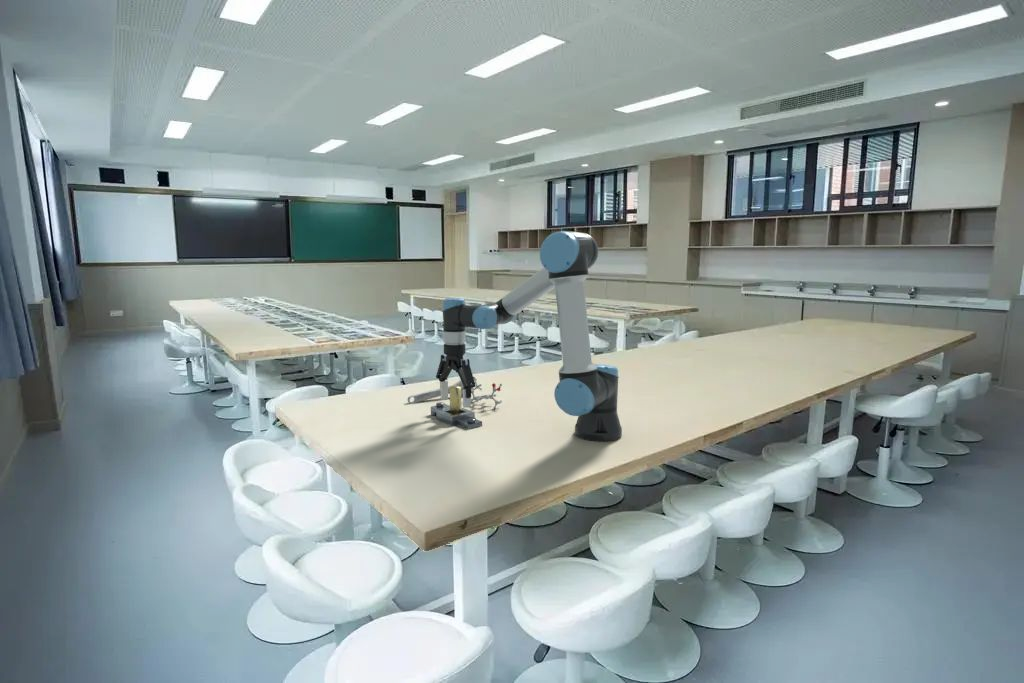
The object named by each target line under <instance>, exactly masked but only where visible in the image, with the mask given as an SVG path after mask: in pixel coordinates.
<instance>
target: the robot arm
mask: <svg viewBox="0 0 1024 683" xmlns="http://www.w3.org/2000/svg"><path fill="white" fill-rule="evenodd" d="M598 257H599V246H598V244H597V242H596V240H595V239H594V237H593V236H591V235H589V233H586V232H581V231H580V232H579V231H578V232H577V231H576V232H575V231H570V230H569V231H568V230H563V231H562V230H561V231H556V232H553V233H551V234H549V235H548V236H547V237H546V238H545V239H544V240H543V242H542V243H541V246H540V249H539V259H540V263H541V265H542V267H543V268H541V269H540V270H538V271H537V272H536V273H534V274H533V275H531V276H530V277H529V278H528V279H526V280H524V281H523V282H522V283H520V284H519V285H518V286H516V287H515V288H514V289H512V290H511V291H510V292H508V293H507V294H505V295H504V296H503V297H502V298H500V299H499V300H497V301H496V302H494V303H487V304H479V305H475V304H474V305H472V304H471V305H470V304H466V300H465V299H464V298H462V297H461V298H460V297H451V298H450V297H448V298H444V299H443V302H442V322H443V323H442V324H443V326H442V327H443V330H442V333H443V334H442V340H443V354H441V355H440V361H439V365H438V368H437V372H436V376H435V379H438V381H439V389H441V396H440V400H441V401H442V400H448V399H449V394H448V386H449V381H448V377H449V375H450V374H451V372H452V370H453V371H455V372H456V373H457V374H458V376H459V379H460V380H461V381H462V383H463V386H464V388H463V396H462V408H465V409H467V408H469V407H472V403H471V399H472V393H471V388H476V384H475V381H474V378H473V377H474V376H473V371H472V368H471V365H470V364H471V363H470V359H469V358H466V359H464V355H466V343H465V342H466V328H471V329H472V328H473V329H480V330H491V329H493V327H494V326H496V325H505V324H508V323H511V322H512V321H513V320H514V319H515V317H516V315H518V314H519V313H520V312H522V311H524V310H525V309H526V308H527V307H529V306H531V305H532V304H533V303H535V302H536V301H537V300H539V299H541V298H542V297H543V296H545V295H547V294H548V293H549V292H551V291H552V290H554V289H555V298H556V308H557V318H558V327H559V328H558V329H559V339H560V348H561V349H560V350H561V357H562V366H561V367H560V368H559V370H558V378H559V381H558V383H557V385H556V386H555V388H554V394H553V395H554V400H555V402H556V403H555V404H556V405H557V406H558V407H559V409H560V410H561V411H563V413H565V414H567V415H569V416H572V417H577V420H576V423H575V425H574V435H575V436H577V437H578V438H580V439H581V440H582V439H583V440H587V441H593V442H611V441H612V442H613V441H615V440H619V439H621V437H622V435H623V434H622V433H623V427H622V425H621V422H620V418H619V415H618V398H619V397H618V394H619V393H618V392H619V377H620V376H619V370H618V367H616V366H614V365H609V364H602V363H593V360H592V352H591V342H590V341H591V340H590V332H589V331H590V330H589V320H588V313H587V311H588V310H587V301H586V299H587V298H586V291H585V290H586V289H585V281H586V280H587V278H588V277H589V269H590V268H592V267H593V265H594V264H595V263H596V262H597V260H598Z"/></svg>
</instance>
